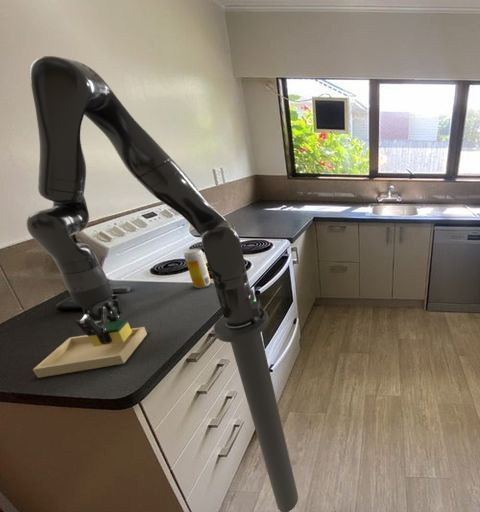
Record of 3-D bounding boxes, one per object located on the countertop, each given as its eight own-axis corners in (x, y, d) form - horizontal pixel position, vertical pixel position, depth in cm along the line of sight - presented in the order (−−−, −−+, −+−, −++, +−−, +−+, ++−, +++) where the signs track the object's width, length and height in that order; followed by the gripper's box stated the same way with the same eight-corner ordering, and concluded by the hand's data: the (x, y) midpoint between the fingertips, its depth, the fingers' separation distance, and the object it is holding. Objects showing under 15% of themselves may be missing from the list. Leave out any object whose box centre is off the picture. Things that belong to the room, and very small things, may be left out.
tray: (147, 334, 88) (144, 326, 86) (124, 363, 76) (120, 355, 75) (73, 345, 83) (69, 337, 82) (37, 378, 72) (32, 369, 71)
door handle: (139, 277, 117) (95, 278, 116) (99, 304, 99) (47, 305, 97) (141, 284, 119) (98, 285, 117) (103, 312, 100) (51, 313, 99)
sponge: (132, 332, 84) (126, 319, 82) (123, 342, 80) (117, 329, 78) (104, 336, 82) (97, 323, 81) (93, 346, 78) (86, 333, 77)
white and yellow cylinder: (201, 281, 119) (191, 247, 113) (214, 281, 118) (205, 248, 112) (190, 288, 114) (179, 253, 108) (204, 289, 113) (193, 254, 107)
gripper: (86, 295, 69) (113, 351, 75) (120, 270, 81) (141, 320, 88) (48, 300, 67) (79, 357, 74) (89, 273, 80) (112, 324, 86)
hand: (112, 336), depth 81 cm, fingers closed on sponge, 4 cm apart
